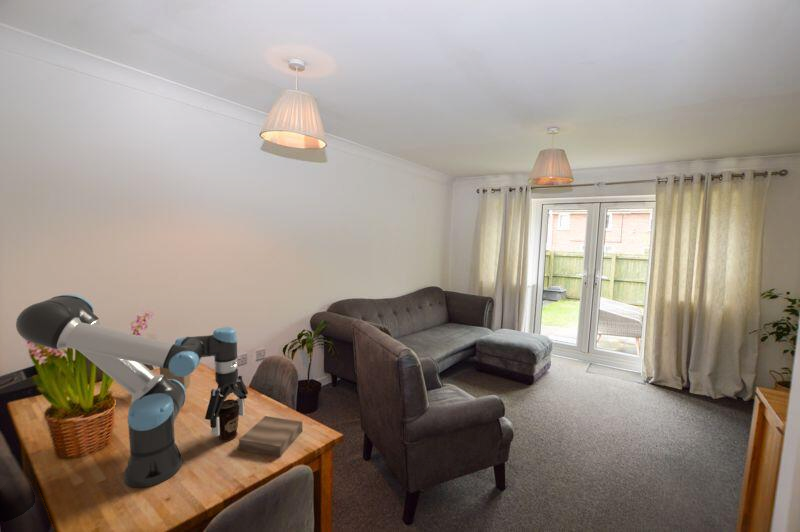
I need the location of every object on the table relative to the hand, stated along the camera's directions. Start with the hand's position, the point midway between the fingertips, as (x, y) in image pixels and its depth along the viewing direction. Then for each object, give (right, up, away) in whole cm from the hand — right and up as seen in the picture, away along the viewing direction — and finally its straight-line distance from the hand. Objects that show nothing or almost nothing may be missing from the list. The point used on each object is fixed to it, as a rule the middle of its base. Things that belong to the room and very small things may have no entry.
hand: (228, 424), depth 132 cm
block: (-43, 0, +37) cm, 57 cm away
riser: (+17, -5, -1) cm, 18 cm away
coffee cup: (0, -5, 0) cm, 5 cm away
